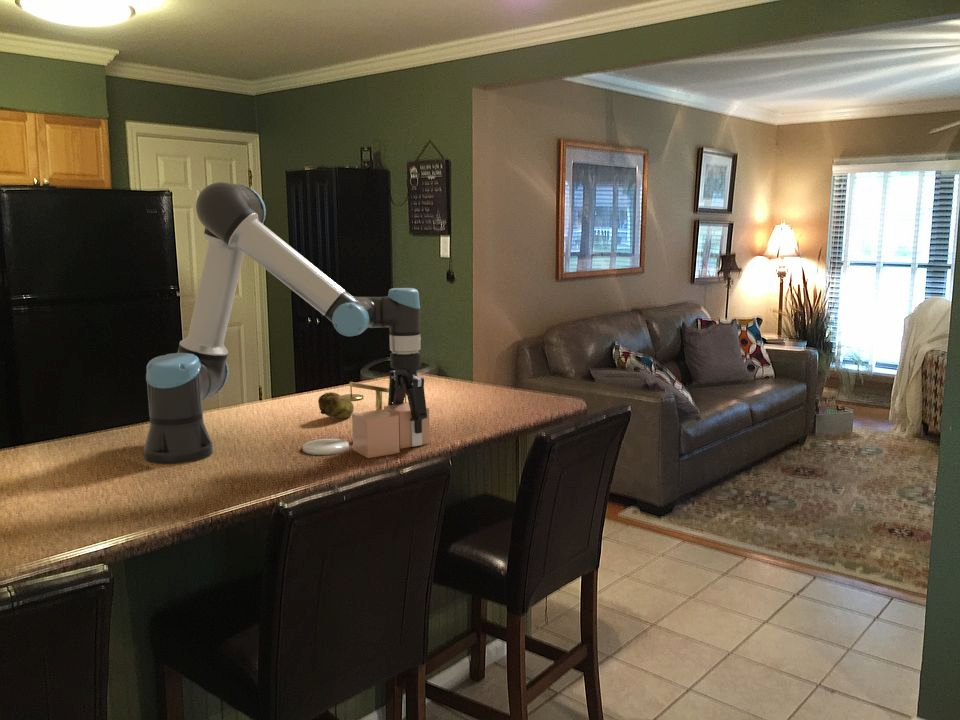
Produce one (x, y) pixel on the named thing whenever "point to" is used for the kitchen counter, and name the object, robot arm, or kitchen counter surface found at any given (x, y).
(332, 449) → the dish
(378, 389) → the balance
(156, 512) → the kitchen counter surface
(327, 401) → the potato
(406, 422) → the peach pink cube
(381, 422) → the tan cardboard-like box
